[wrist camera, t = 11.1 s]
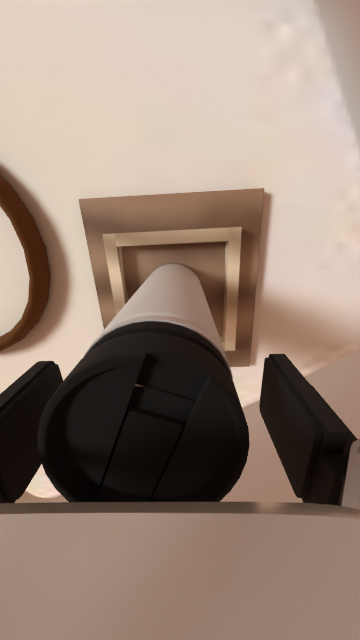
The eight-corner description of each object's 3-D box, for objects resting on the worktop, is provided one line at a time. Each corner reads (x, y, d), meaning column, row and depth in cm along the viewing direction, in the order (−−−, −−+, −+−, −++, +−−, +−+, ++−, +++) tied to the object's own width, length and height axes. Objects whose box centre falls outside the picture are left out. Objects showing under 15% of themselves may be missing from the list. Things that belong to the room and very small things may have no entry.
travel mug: (138, 309, 25) (10, 519, 7) (155, 254, 23) (33, 337, 4) (188, 326, 26) (200, 560, 7) (210, 274, 24) (309, 423, 5)
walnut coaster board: (83, 200, 22) (71, 196, 20) (260, 190, 21) (270, 184, 19) (114, 366, 29) (108, 377, 27) (247, 362, 29) (252, 373, 26)
